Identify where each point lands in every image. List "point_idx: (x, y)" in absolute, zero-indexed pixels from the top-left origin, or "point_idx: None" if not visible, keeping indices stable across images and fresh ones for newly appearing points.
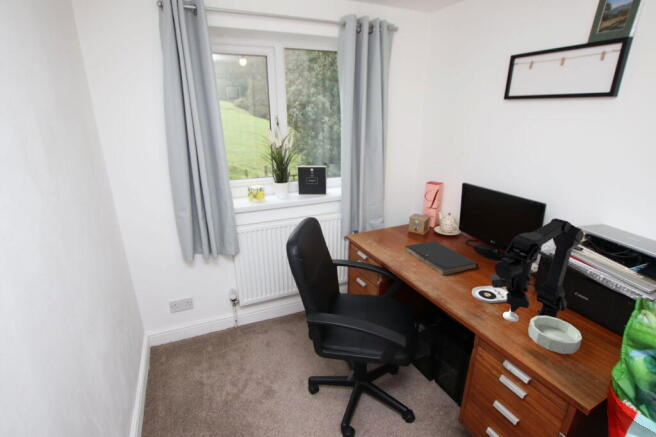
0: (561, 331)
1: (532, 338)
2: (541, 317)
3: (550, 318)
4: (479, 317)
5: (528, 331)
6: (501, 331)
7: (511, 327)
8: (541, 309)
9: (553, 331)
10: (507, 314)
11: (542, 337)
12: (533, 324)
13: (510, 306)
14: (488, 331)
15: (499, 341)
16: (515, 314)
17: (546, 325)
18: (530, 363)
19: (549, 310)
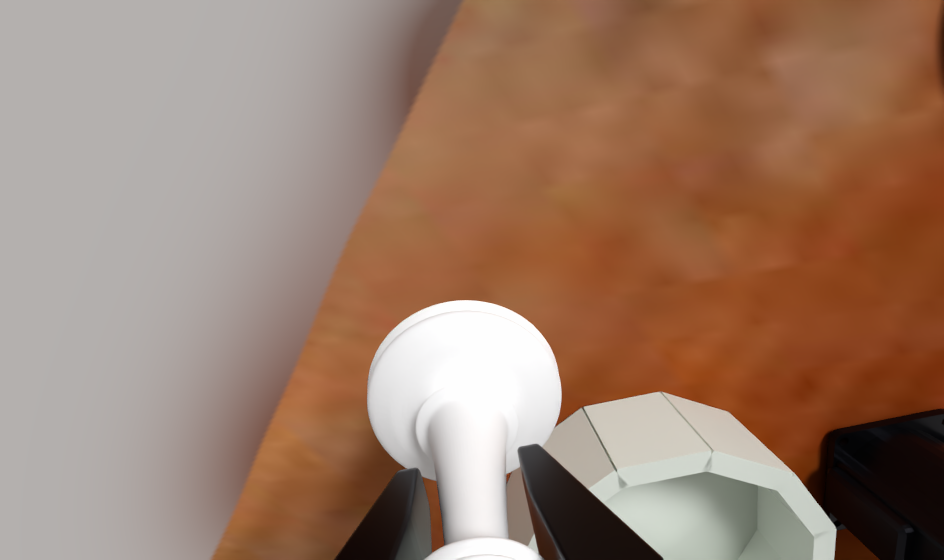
0: (731, 555)
1: (554, 431)
2: (791, 507)
3: (809, 553)
4: (627, 15)
5: (633, 397)
6: (517, 239)
7: (621, 292)
8: (940, 473)
9: (705, 523)
10: (437, 374)
11: (521, 529)
12: (643, 478)
13: (523, 462)
14: (447, 146)
15: (368, 252)
16: (516, 452)
17: (758, 486)
18: (272, 456)
19: (922, 550)
